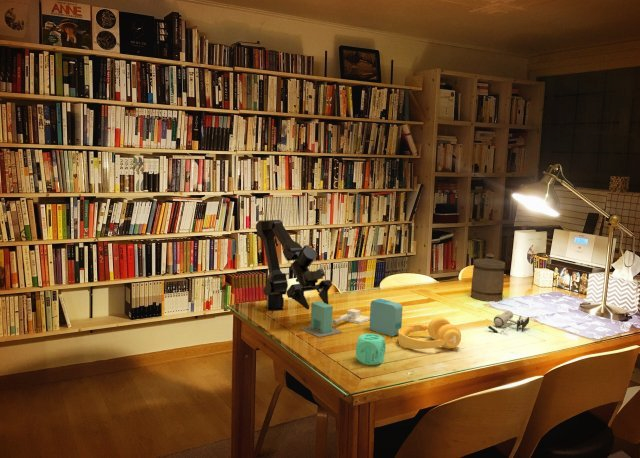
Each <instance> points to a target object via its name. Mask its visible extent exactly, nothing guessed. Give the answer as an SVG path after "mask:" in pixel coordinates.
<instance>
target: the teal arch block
mask: <svg viewBox="0 0 640 458" xmlns="http://www.w3.org/2000/svg"><path fill="white" fill-rule="evenodd" d="M310 303H311V305H310V307H311V308H310V309H311V310H310V326H311V328H312V329H317V328H321V329H320V332H321V333H323V334H324V333H329V332H332V328H333V307H334V306H333V305H330V304H329V303H328V304H329V305H328V304H325V303H324V302H323V301H320V300H319V301H314V302H310Z"/></svg>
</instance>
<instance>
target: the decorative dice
mask: <svg viewBox="0 0 640 458" xmlns="http://www.w3.org/2000/svg"><path fill="white" fill-rule="evenodd" d="M386 347H387V345H386V339H385V338H384V337H383V336H382V335H380V334H376V333H363V334H361V335H359V336H358V339H357V341H356V347H355V357H356V359H357V360H358V361H359V363H360V364H363V365H366V366H367V365H368V366H376V365H377V366H378V365H380V364H382V363H383V362H384V358H385V355H386Z"/></svg>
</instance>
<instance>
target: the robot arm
mask: <svg viewBox="0 0 640 458" xmlns="http://www.w3.org/2000/svg"><path fill="white" fill-rule="evenodd" d="M255 229H256V233H257V235H258V237H259V239H260V240H262V243H263V247H264V248H263V249H264V254H265V259H266V263H267V269H268V275H267V279H266V285H265V286H264V288H263V295H265V296H266V305H265V307H266V308H267V310H268V311H282V310H284V304H285V301H284V299H285V298H284V296H283V295H286V296H287V298H288V299H291V300H294V301H296V302H297V303H298V304H300V305H301V306H302V307H303V308H305V309H306V310H308V311H309V309H310V306H309V304H308V300H307V298H306V296H305V292H311V291H316V292H318V296H319V298H320V300H322V301H321V302H323V303H325V304H328V305H330V304H329V295H328V294H329V290H330V289H331V288H332V286H333V283H332V280H330V279H323V278H324V277H325V276H326V274H325V270H324V269H323V268H318V269H317V270H314V271H312V270H310V269H309V267H310V266H311V265H312V264H313V262H314V261H315V260H316V259H317V257H318V252H317V251H316V250H315V249H314V248H312V247H311V246H310V245H309V244H304V245H303V246H302V245H300V243H298V242H296V241H295V240H294V239H292V236H291V235H290V234H289V232H288V231H287V229H286V227H285V226H284V225H283V222H282V220H280V219H267V220H266V219H262V220H258V221H257V223H256V224H255ZM275 237H276V239H277V240H278V242H279V243H280V245H281V247H282V248H283V249H282V254H283V256H284V258H285V260H286V261H288V262H289V261H290V262H291V261H293V262H291V263H290V267H289V270H290V271H293V273H294V275H295V277H296V279H295V282H296V284H291V285H290V287H289V283H288V279H287V275H286V273H285V272H284V273H283V271H282V270H281V267H280V263H279V256H278V251H277V247H276V241H275ZM320 279H321V280H320ZM322 279H323V280H322ZM319 280H320V282H319V283H318V281H319ZM317 283H318V284H317Z"/></svg>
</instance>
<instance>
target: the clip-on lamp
mask: <svg viewBox="0 0 640 458" xmlns="http://www.w3.org/2000/svg"><path fill="white" fill-rule="evenodd" d="M513 317H514V313H513V311H511V310H506V311H504V312H502V313H501V314H496V315H495V316H494V318H493V324H494V325H495V326H496V327H498V328H504V329H503V330H502V331H501V332H498V330H497V329H495V328H494V327H493V326H491V325H487V328H488V329H489V330H490V331H493V333H496V334H501V333H503V332H504V331H505V330H506V329H507V328H508V327H509V326H510V325H513V326H515V325H516V331H517V332H518V330H519V328H520V327H521V333H523V332H524V329H525V328H526V327H527V325H528V324H529V323H530V317H529V316H527V318H525V317H524V318H523V317H522V315H519V317H518V319H516V320H514V319H513ZM508 322H509V323H508Z"/></svg>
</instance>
